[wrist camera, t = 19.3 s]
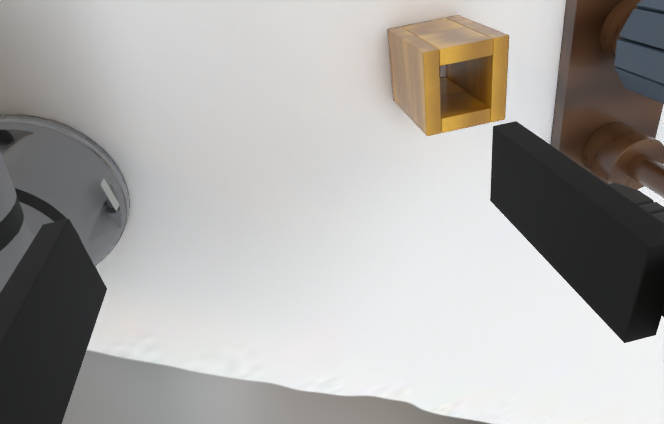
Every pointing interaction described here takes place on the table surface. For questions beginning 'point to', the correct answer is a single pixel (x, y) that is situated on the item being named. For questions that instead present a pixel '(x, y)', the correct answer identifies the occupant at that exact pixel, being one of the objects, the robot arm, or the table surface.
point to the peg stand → (604, 101)
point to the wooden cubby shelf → (449, 73)
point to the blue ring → (643, 50)
